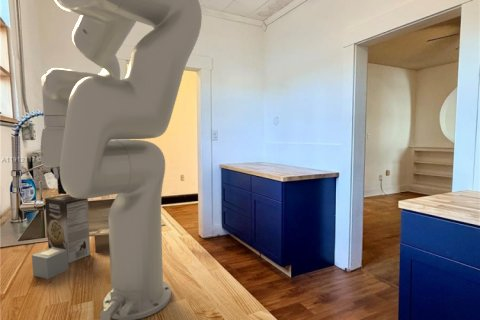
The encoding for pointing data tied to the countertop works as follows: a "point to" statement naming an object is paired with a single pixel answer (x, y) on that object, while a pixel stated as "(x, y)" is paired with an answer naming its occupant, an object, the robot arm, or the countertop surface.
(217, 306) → the countertop surface
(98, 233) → the walnut block
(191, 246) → the countertop surface
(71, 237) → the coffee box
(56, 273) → the slate block
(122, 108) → the robot arm
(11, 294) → the countertop surface
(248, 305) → the countertop surface
